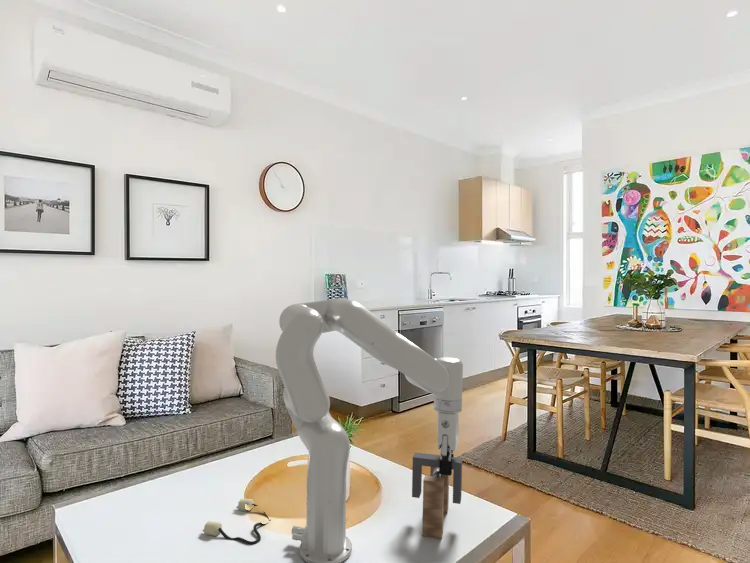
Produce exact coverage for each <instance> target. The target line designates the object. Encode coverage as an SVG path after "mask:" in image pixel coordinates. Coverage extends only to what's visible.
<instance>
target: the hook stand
mask: <svg viewBox="0 0 750 563" xmlns="http://www.w3.org/2000/svg"><path fill="white" fill-rule="evenodd" d="M439 469H440V468H437V467H430V469H429V470H430V472H429V473H430V475H427V474H426V475H425V476H424V478H423V480H422V482H423V485H422V525H421V526H422V528H421V529H422V532H421V533H422V534H421V536H423V537H427V538H434V539H439V540H442V539H443V535H444V514H448V512H449V506H450V505H449V504H450V503H449V502H450V501H449V498H450V497H449V494H450V476H449V475H442V474H440V473H439Z"/></svg>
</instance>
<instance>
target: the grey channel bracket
mask: <svg viewBox="0 0 750 563" xmlns="http://www.w3.org/2000/svg"><path fill="white" fill-rule="evenodd" d="M451 460H452V472H453V473H452V475H453V476H452V478H453V480H452V504H458V505H461V502H462V491H463V490H462V488H463V485H462V484H463V457H458V456H453V457H451ZM423 467H430V468H431V467H437V468H440V454H433V453H426V452H416V451H415V452H414V454H413V456H412V472H411V473H412V476H411V479H412V483H411V484H412V485H411V497H412V498H415V499H420V497H421V495H422V486H423V485H422V482H423V480H422V479H423V478H422V476H423V472H422V471H423Z"/></svg>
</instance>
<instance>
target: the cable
mask: <svg viewBox="0 0 750 563" xmlns="http://www.w3.org/2000/svg"><path fill="white" fill-rule="evenodd" d="M237 504H238V505H237V506H236V509H238V511H243V512H247V511H246V509H245V504H247V505H254V506H258V505H257V504H255V501H254V500H253V498H240V499H239V500H238V502H237ZM261 522H262V521H261ZM261 522H256V523H255V524H254V525H253V532H254V533H255V535H256V536H257V539H255V540H254V541H253V540H252V541H251V540H248V539H245V538H243V537H239V536H238V537H237V536H236V537H231V536H229V535H227V533H226V532H224V530H223V526H222V522H219V521H217V522H216V521H211V520H210V521H207V522H206V523H205V524H204V527H203V529H202V532H203V533H204V535H208V536H214V537H217V536H219V535H222V537H224V539H225V540H229V541H239V542H242V543H244V544H246V545H255V544H258V543H260V541H261V539H262V537H261V533H259V531H258V530H257V527H260V526H263V525H262V523H261Z"/></svg>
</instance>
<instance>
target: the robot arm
mask: <svg viewBox="0 0 750 563" xmlns="http://www.w3.org/2000/svg"><path fill="white" fill-rule="evenodd" d="M278 321H279V322H278V323H279V324H278V325H279V327H280V330H281V331H282V332H281V334H280V335H279V338H278V341H277V345H276V349H275V364H276V367H277V370H278V372H279V373H278V374H279V376H280V378H281V381H282V384H283V387H284V388H283V391H282V392H283V393H282V395H283V401H284V404H285V407H286V410H287V412H288V413H289V416H290V418H291V422H292V424H293V426H294V428H295V430H296V432H297V434H298V436H299V439H300V441H301V442H302V444H303V446H304V447H305V448H306V450H307V451H308V456H309V459H308V466H307V473H306V519H305V520H306V522H305V523H306V524H305V525H306V526H304V527H301V526H299V525H293V526H292V527H291V539H292V540H294V541H300V542H301V543H300V544H299V555H300V557H301V559H302V560H303V561H305V562H306V563H343V562H344V561H346V560H347V559H348V558H349V557H350V555H351V554H352V552H353V551H352V550H353V549H352V548H353V546H352V545H353V543H352V541H351V540H350V538H348V536H346V534H347V533H346V530H347V529H346V528H347V527H346V526H347V525H346V524H347V523H346V522H347V520H346V519H347V473H348V472H347V470H348V462H349V456H350V448H351V444H350V438H349V436H348V433H347V432H346V430H345V428H344V427H343V426H342V425H341V424H340V422H338V421H337V420H335V419H334V417H332V415H331V413H330V407H331V400H330V395H329V392H328V391H327V388H326V386H325V384H324V382H323V380H322V377H321V375H320V372H319V370H318V367H317V364H316V362H315V358H314V349H315V346H316V344H317V342H318V341H319V339H320V338H321V336H322V334H325V333H329V332H330V333H331V332H338V333H340V334H341V335H343V336H344V337H345V338H347V339H348V340H350V341H351V342H352V343H354V344H355V345H357V346H358V347H360V348H361V349H362V350H364V351H365V352H366V353H368V354H369V355H370V356H371V357H373V358H375V359H376V360H377V361H379V362H381V363H383V364H384V365H387V366H389V367H390V368H392V369H395V370H397V371H398V372H400V373H402V374H403V375H404V377H405V379H406V380H407V381H408V383H410V384H412V385H413V386H415V387H417V388H419V389H422V390H424V391H425V392H427V393H429V394H432V395H433V410H434V411H435V412H437V427H436V428H437V432H436V435H437V436H436V438H437V439H436V440H437V449H438V450H440V451H439V452H440V454H439V455H440V469H439V473H440V474H442V475H449V477H450V476H452V475H453V473H452V472H453V469H452V460H451V457H455V455H454V452H456V451H457V449H458V444H459V434H460V433H459V430H460V429H459V426H460V424H459V422H460V421H459V414H460V413H461V412H462V410H463V375H464V374H463V371H464V369H463V368H464V365H463V364H464V363H463V361H462V360H461V359H460V358H456V357H451V356H444V357H443V356H441V357H438V358H434V356H432V355H431V354H429V353H428V352H426V351H425V350H423V349H422V348H421V347H419V346H418V345H416V344H415V343H413V342H412V341H410V340H409V339H407V338H406V337H405V336H404V335H402V334H400V333H399V332H397V331H396V330H395V329H393V328H392V327H390V326H389V325H388V324H387V323H385V322H384V321H382V320H381V319H380V318H379V317H378V316H377V315H375V314H374V313H372V311H370V310H369V309H367V308H366V307H365V306H363V305H362V304H361V303H359V302H357V301H355V300H353V299H346V298H339V297H338V298H331V299H324V300H317V301H316V300H315V301H310V302H300V303H294V304H290V305H288V306H287V307H285V308H284V309H283V310H282V312H281V313H280V315H279V320H278Z"/></svg>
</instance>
